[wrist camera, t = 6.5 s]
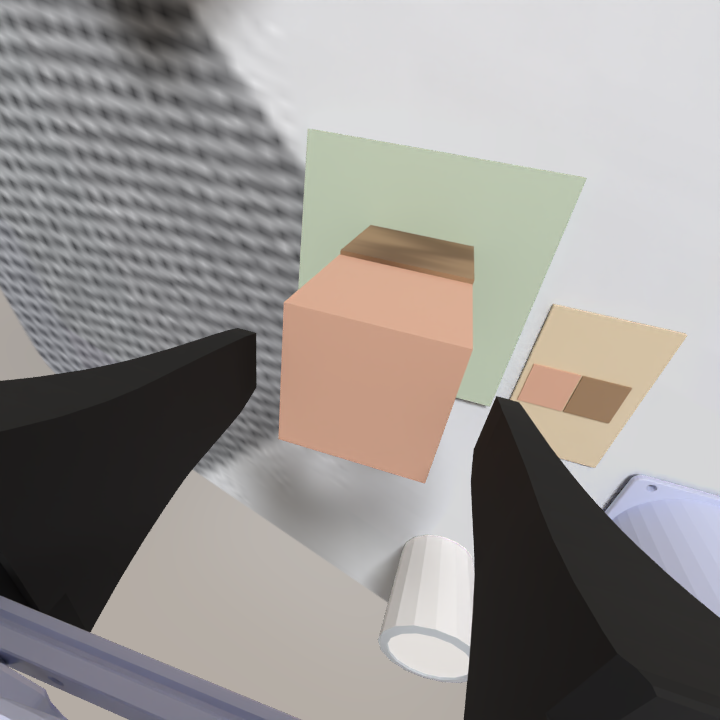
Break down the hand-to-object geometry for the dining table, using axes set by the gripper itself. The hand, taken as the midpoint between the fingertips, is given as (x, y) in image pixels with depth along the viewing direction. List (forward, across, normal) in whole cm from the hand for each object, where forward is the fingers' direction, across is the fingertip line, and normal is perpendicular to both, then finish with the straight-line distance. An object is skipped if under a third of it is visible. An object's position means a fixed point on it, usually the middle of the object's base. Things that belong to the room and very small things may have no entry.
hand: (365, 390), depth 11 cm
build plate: (+10, 0, 0) cm, 10 cm away
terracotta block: (+5, 0, 0) cm, 5 cm away
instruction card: (+10, -10, +4) cm, 15 cm away
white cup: (+10, -7, +22) cm, 25 cm away
